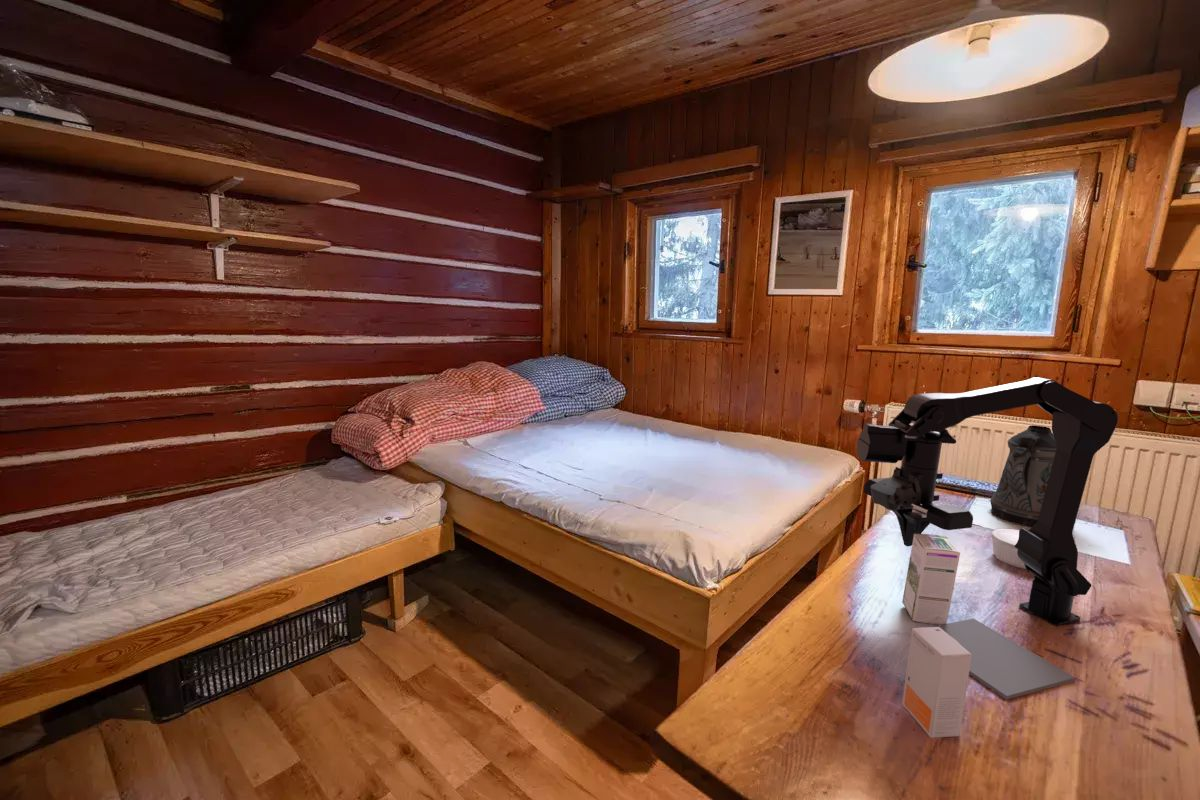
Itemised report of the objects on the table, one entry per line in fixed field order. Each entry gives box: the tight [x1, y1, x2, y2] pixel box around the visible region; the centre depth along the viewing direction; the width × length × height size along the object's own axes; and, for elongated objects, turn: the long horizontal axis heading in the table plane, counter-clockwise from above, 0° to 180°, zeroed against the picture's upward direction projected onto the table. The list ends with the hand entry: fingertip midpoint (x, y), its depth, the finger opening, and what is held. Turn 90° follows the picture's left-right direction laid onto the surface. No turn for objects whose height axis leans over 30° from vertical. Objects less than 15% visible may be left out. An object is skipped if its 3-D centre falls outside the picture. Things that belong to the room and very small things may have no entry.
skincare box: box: [901, 626, 972, 739], centre depth 71 cm, size 6×4×12 cm
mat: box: [933, 617, 1076, 701], centre depth 85 cm, size 14×16×1 cm
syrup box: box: [901, 533, 961, 626], centre depth 95 cm, size 6×6×14 cm
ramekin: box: [991, 528, 1026, 570], centre depth 118 cm, size 11×11×5 cm
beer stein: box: [990, 424, 1057, 528], centre depth 141 cm, size 16×19×25 cm
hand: (907, 545), depth 99 cm, fingers closed
